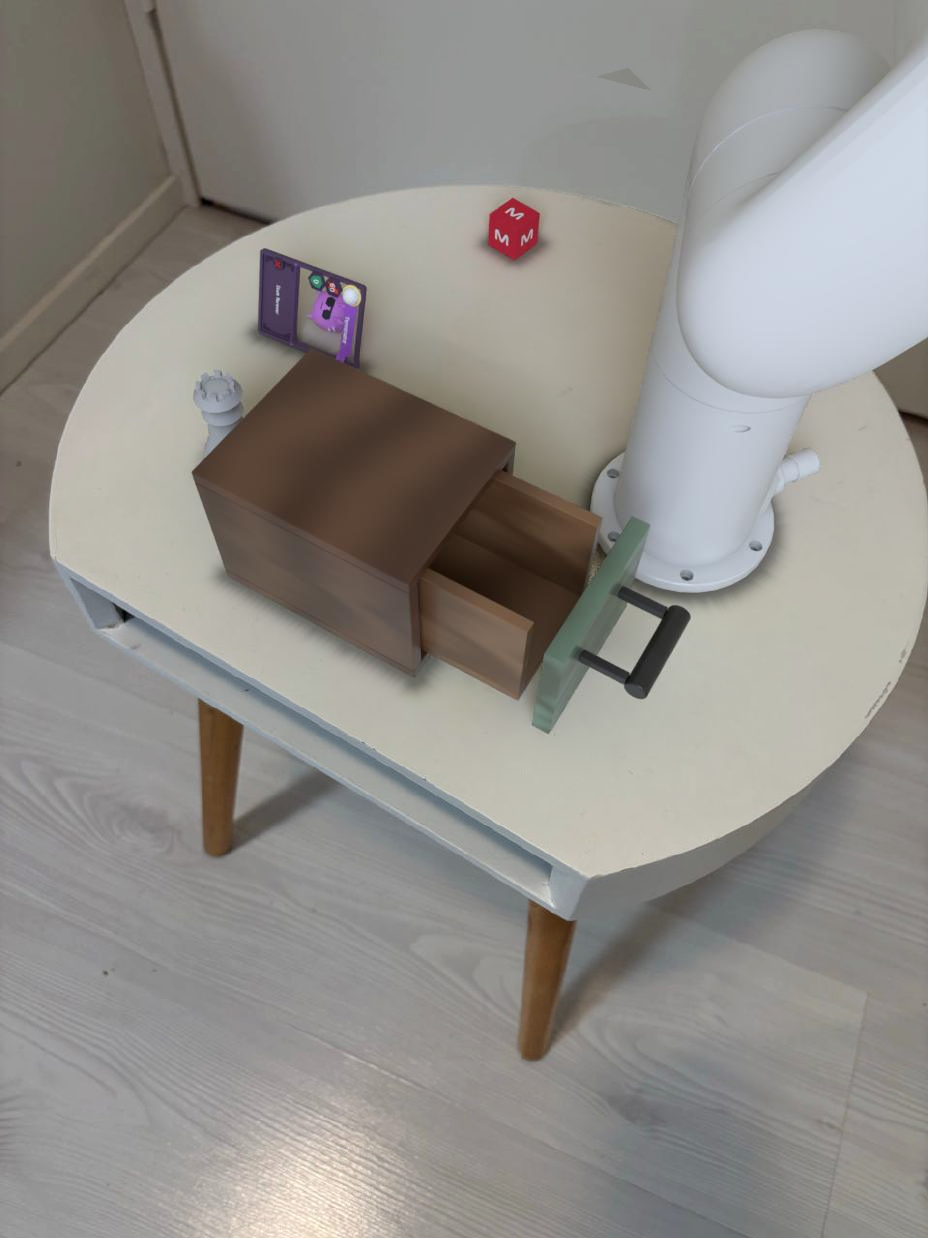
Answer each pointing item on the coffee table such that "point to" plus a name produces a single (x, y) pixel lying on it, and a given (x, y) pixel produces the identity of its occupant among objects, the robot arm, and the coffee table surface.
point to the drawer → (538, 598)
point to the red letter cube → (513, 228)
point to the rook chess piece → (218, 405)
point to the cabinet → (346, 500)
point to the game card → (328, 308)
